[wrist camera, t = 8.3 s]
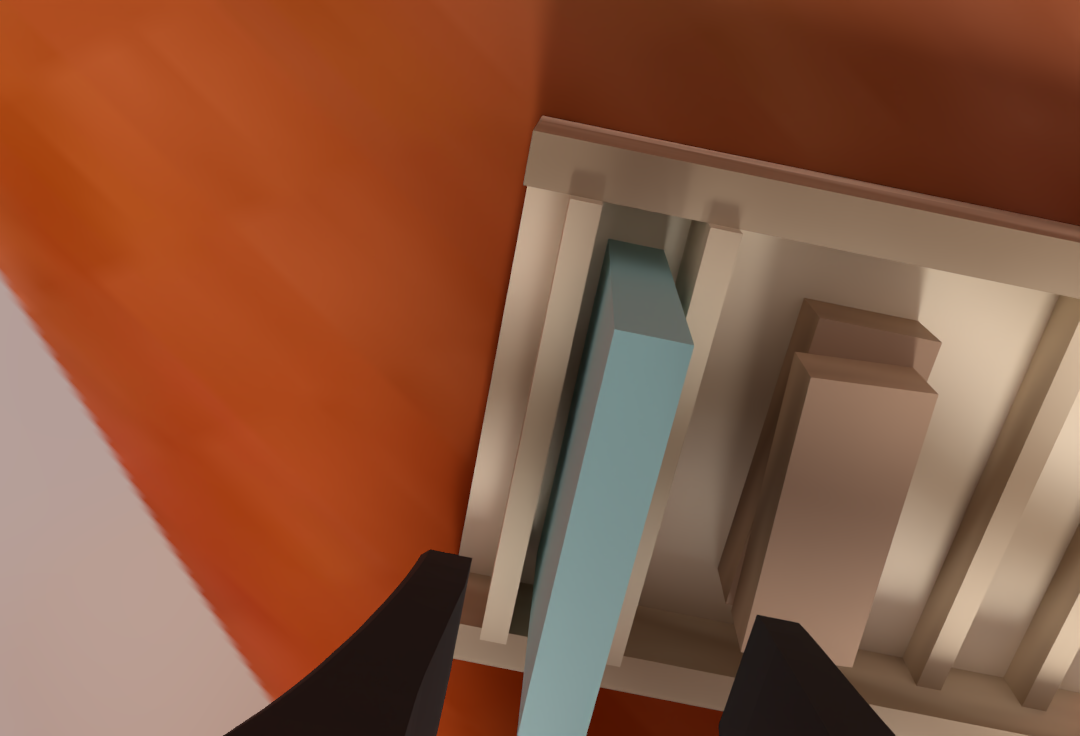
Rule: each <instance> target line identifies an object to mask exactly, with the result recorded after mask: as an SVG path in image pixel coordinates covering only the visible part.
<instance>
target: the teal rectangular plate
mask: <svg viewBox="0 0 1080 736" xmlns="http://www.w3.org/2000/svg"><path fill="white" fill-rule="evenodd" d="M693 349H694V343H693V340H692V337H691V333H690V330H689V327H688V324H687V321H686V318H685V315H684V311H683V308H682V305H681V302H680V299H679V296H678V293H677V289H676V286H675V283H674V280H673V277H672V274H671V271H670V267H669V264H668V261H667V258H666V255H665V252H664V250H662V249H657V248H652V247H647V246H642V245H637V244H632V243H628V242H623V241H618V240H613V239H608V243H607V247H606V251H605V256H604V260H603V265H602V269H601V273H600V278H599V282H598V287H597V291H596V295H595V300H594V304H593V309H592V313H591V318H590V322H589V326H588V331H587V335H586V340H585V344H584V348H583V353H582V357H581V362H580V366H579V370H578V375H577V379H576V384H575V388H574V393H573V397H572V401H571V406H570V410H569V415H568V419H567V423H566V428H565V432H564V437H563V441H562V445H561V450H560V454H559V459H558V463H557V468H556V472H555V476H554V481H553V485H552V490H551V494H550V498H549V503H548V507H547V512H546V516H545V520H544V525H543V529H542V534H541V538H540V542H539V547H538V551H537V558H536V567H535V576H534V585H533V594H532V603H531V612H530V621H529V630H528V639H527V649H526V658H525V667H524V676H523V685H522V694H521V703H520V712H519V721H518V730H517V736H586V735H587V731H588V727H589V724H590V720H591V717H592V713H593V709H594V706H595V702H596V699H597V695H598V691H599V688H600V684H601V680H602V677H603V673H604V670H605V666H606V662H607V659H608V655H609V652H610V648H611V644H612V641H613V637H614V634H615V630H616V626H617V623H618V619H619V616H620V612H621V608H622V605H623V601H624V598H625V594H626V590H627V587H628V583H629V579H630V576H631V572H632V569H633V565H634V561H635V558H636V554H637V551H638V547H639V543H640V540H641V536H642V533H643V529H644V525H645V522H646V518H647V515H648V511H649V507H650V504H651V500H652V496H653V493H654V489H655V486H656V482H657V478H658V475H659V471H660V468H661V464H662V460H663V457H664V453H665V450H666V446H667V442H668V439H669V435H670V432H671V428H672V424H673V421H674V417H675V413H676V410H677V406H678V403H679V399H680V395H681V392H682V388H683V385H684V381H685V377H686V374H687V370H688V367H689V363H690V359H691V356H692V352H693Z"/></svg>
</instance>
